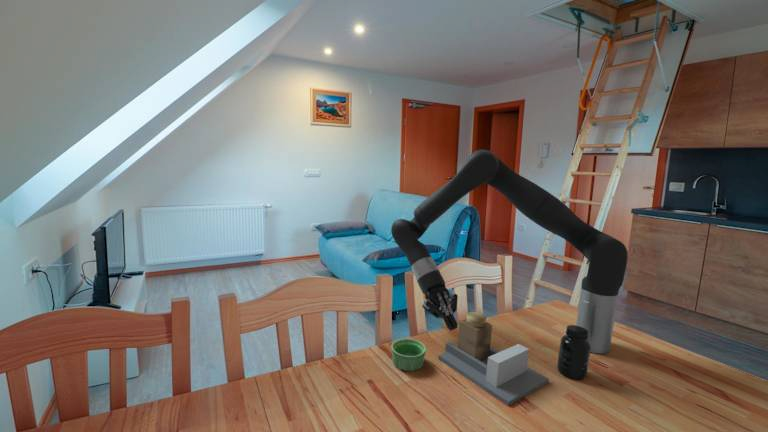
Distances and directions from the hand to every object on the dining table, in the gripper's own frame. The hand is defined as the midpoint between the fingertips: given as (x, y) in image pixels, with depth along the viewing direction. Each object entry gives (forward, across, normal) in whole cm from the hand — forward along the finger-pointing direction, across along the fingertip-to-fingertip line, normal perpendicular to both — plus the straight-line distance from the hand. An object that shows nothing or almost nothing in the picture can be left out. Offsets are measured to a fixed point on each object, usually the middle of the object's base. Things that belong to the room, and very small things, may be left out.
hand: (454, 329), depth 103 cm
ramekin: (+4, -16, +4) cm, 17 cm away
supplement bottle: (+22, +17, -14) cm, 31 cm away
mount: (+13, 0, -5) cm, 14 cm away
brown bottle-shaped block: (+8, 0, -2) cm, 8 cm away
